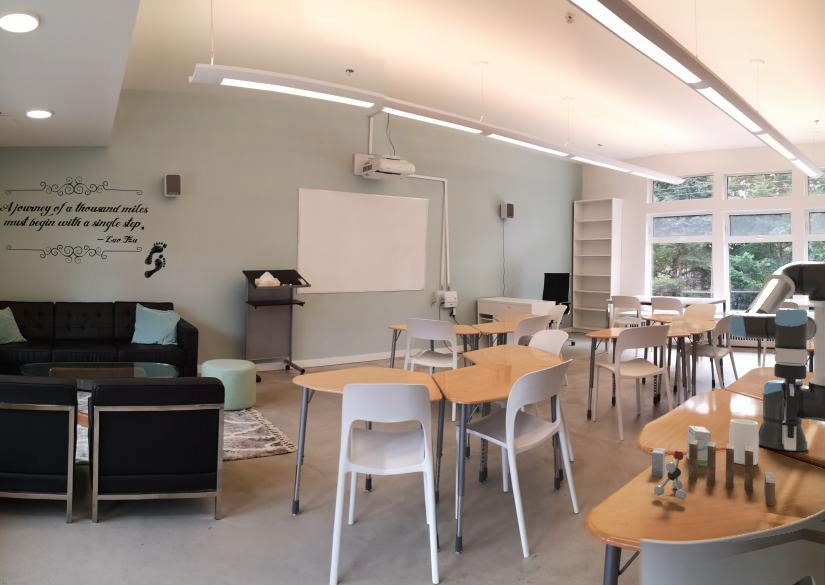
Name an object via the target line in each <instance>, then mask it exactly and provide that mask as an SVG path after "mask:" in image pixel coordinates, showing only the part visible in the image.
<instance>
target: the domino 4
mask: <svg viewBox="0 0 825 585" xmlns="http://www.w3.org/2000/svg"><path fill="white" fill-rule="evenodd" d="M743 476H744V480H743V481H744V484H743V485H744V486H743V487H744V490H745V491H746V490H747V491H751V492H752V491H754V490H753V489H754V465H753V447H749V446H745V465H744V475H743Z"/></svg>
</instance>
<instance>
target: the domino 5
mask: <svg viewBox="0 0 825 585" xmlns="http://www.w3.org/2000/svg"><path fill="white" fill-rule="evenodd" d="M764 499H765V501H764V502H765V505H766V506H772V507H776V480H775V475H774V472H771V471H764Z"/></svg>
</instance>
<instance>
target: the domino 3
mask: <svg viewBox="0 0 825 585" xmlns="http://www.w3.org/2000/svg"><path fill="white" fill-rule="evenodd" d="M725 445H726V447H725V487H726V488H733V489H734V486H735V485H734V483H735V482H734V478H735V475H734V473H735V467H734V466H735V462H734V445H732V444H729V443H726V444H725Z"/></svg>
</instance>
